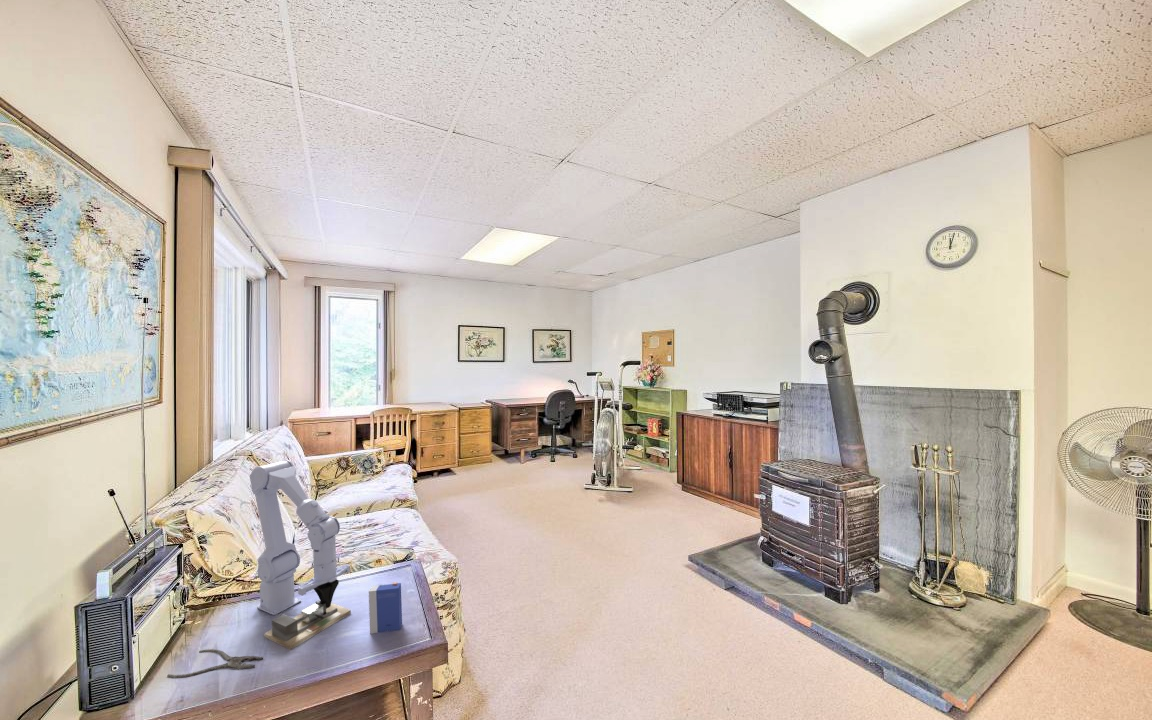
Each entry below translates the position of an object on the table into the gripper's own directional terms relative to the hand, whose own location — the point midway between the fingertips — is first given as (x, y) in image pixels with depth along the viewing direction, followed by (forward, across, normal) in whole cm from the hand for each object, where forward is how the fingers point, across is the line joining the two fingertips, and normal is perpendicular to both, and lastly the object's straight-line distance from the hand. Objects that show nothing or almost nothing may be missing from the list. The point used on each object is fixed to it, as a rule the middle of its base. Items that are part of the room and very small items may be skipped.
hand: (326, 606), depth 124 cm
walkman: (+3, +3, -22) cm, 22 cm away
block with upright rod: (+1, -4, -1) cm, 4 cm away
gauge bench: (+2, -5, 0) cm, 6 cm away
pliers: (+3, -23, +6) cm, 24 cm away
